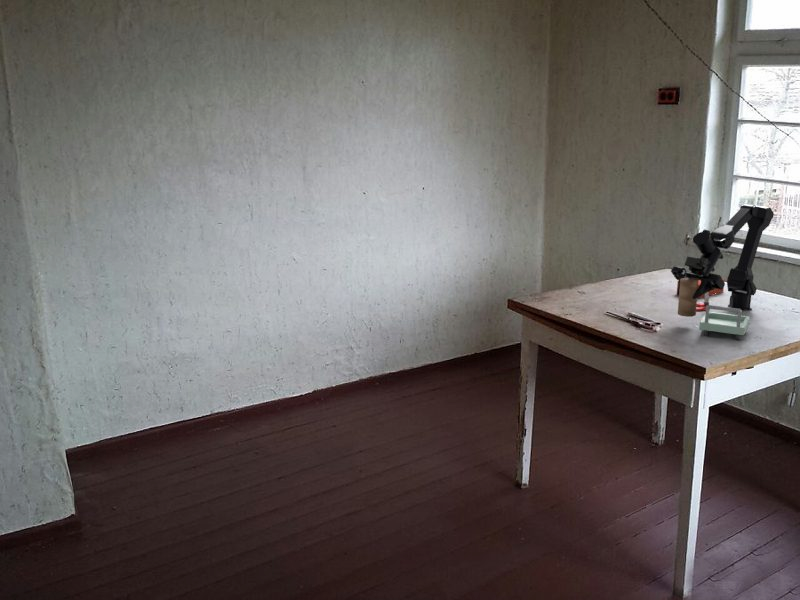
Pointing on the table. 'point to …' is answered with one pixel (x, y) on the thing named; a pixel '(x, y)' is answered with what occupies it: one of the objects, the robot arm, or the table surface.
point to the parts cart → (724, 321)
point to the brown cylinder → (687, 297)
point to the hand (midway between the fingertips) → (685, 296)
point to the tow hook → (703, 306)
